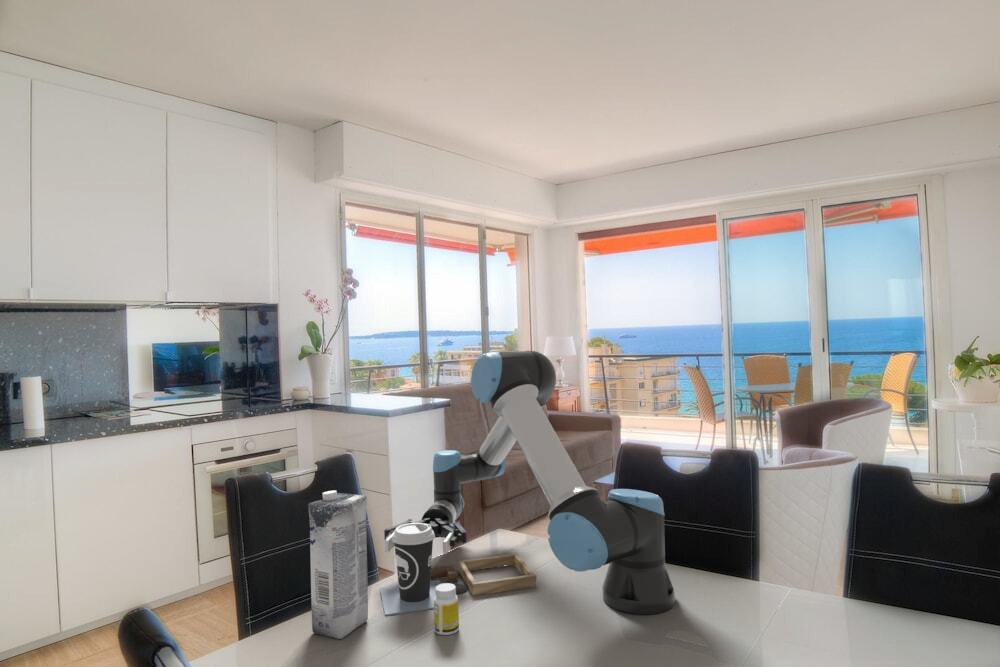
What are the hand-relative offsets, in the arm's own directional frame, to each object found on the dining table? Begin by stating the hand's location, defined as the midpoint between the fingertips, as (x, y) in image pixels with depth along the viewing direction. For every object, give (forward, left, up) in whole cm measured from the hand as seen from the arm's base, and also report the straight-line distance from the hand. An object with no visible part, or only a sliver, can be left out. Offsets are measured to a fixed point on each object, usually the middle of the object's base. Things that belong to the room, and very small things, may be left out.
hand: (415, 547), depth 136 cm
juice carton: (-12, +17, -10) cm, 23 cm away
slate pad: (-3, +1, -10) cm, 10 cm away
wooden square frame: (+1, -19, -10) cm, 22 cm away
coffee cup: (-3, +1, -10) cm, 10 cm away
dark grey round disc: (-2, -9, -10) cm, 14 cm away
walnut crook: (+5, -6, -10) cm, 13 cm away
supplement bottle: (-20, -3, -10) cm, 22 cm away
